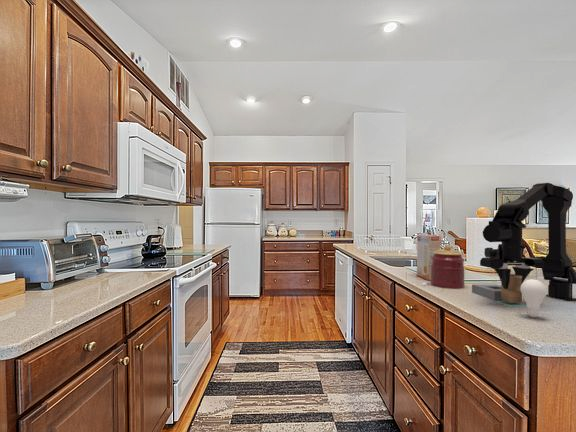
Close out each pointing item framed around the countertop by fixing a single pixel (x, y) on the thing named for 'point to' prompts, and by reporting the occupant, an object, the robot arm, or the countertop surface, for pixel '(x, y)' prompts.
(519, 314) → the countertop surface
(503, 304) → the mat
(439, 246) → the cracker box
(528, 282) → the lightbulb
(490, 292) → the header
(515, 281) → the plug
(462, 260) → the canister
